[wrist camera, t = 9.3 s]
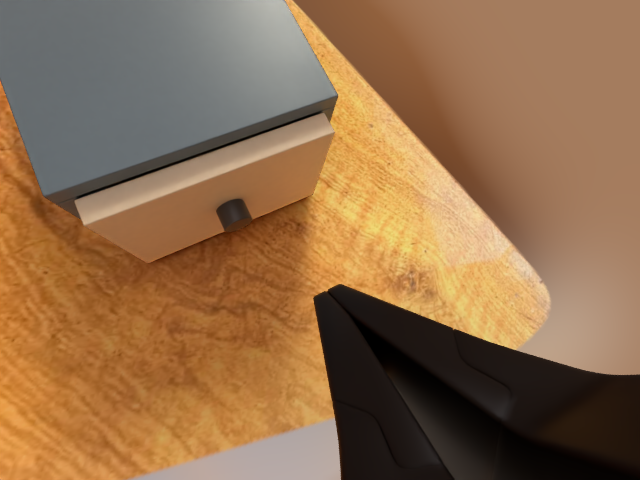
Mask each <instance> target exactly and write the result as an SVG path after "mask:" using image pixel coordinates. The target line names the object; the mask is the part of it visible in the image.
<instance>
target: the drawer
mask: <svg viewBox="0 0 640 480" xmlns="http://www.w3.org/2000/svg"><path fill="white" fill-rule="evenodd" d="M334 133H335V132H334V130H333V128H332V126H331V124H330V122H329V120H328V119H327V117H326V115H325V113H320V114H317V115H315V116H312V117H309V118H306V119H303V120H300V121H298V122H295V120H293V121H290V122H287V123H284V124H282V125H279V126H276V127H273V128H270V129H267V130H264V131H262V132H259V133H256V134H253V135H250V136H247V137H244V138H242V139H239V140H236V141H233V142H230V143H227V144H225V145H222V146H219V147H216V148H213V149H210V150H207V151H205V152H202V153H199V154H196V155H193V156H190V157H188V158H185V159H182V160H179V161H176V162H173V163H170V164H168V165H165V166H162V167H159V168H156V169H153V170H150V171H148V172H145V173H142V174H139V175H136V176H133V177H131V178H128V179H125V180H122V181H119V182H116V183H113V184H111V185H108V186H105V188H106V189H105V190H102V191H99V192H96V193H94V194H91V195H88V196H85V197H82V198H79V199H77V200H75V201H74V202H75V205H76V207H77V210H78V213H79V215H80V218H81V220H82V223H83V225H84V226H85V227H87V228H89V229H90V230H92V231H94V232H95V233H97V234H99V235H100V236H102V237H104V238H105V239H107V240H109V241H111V242H112V243H114V244H116V245H117V246H119V247H121V248H122V249H124V250H126V251H127V252H129V253H131V254H133V255H134V256H136V257H138V258H139V259H141V260H143V261H144V262H146V263H150V262H152V261H155V260H157V259H159V258H162V257H164V256H167V255H169V254H171V253H174V252H176V251H179V250H181V249H183V248H186V247H188V246H191V245H193V244H195V243H198V242H200V241H202V240H205V239H207V238H210V237H212V236H214V235H217V234H219V233H222V232H224V231H226V232H233V231H237V230H239V229H242V228H244V227H246V226H247V225H248V224H250V223H251V222H252V220H253V219H255V218H258V217H260V216H262V215H265V214H267V213H270V212H272V211H274V210H277V209H279V208H282V207H284V206H286V205H289V204H291V203H294V202H296V201H298V200H301V199H303V198H306V197H308V196H310V195H313V193H314V190H315V187H316V184H317V181H318V178H319V176H320V173H321V170H322V167H323V164H324V161H325V159H326V156H327V153H328V150H329V147H330V144H331V142H332V139H333V136H334Z"/></svg>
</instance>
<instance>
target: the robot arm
mask: <svg viewBox="0 0 640 480" xmlns="http://www.w3.org/2000/svg"><path fill="white" fill-rule="evenodd" d="M313 299H314V305H315V311H316V316H317V321H318V327H319V332H320V338H321V343H322V349H323V354H324V360H325V365H326V370H327V376H328V381H329V387H330V392H331V398H332V402H333V409H334V415H335V421H336V427H337V434H338V441H339V454H340V468H341V480H640V375H609V374H601V373H595V372H590V371H585V370H581V369H577V368H574V367H570V366H567V365H564V364H560V363H557V362H553V361H550V360H546V359H543V358H540V357H536V356H533V355H529V354H526V353H523V352H519V351H516V350H513V349H510V348H507V347H504V346H500V345H497V344H494V343H491V342H488V341H486V340H483V339H480V338H477V337H475V336H472V335H469V334H467V333H464V332H462V331H459V330H457V329H454V330H453V328H451V327H449V326H446V325H444V324H441V323H438V322H436V321H433V320H431V319H428V318H426V317H423V316H421V315H418V314H416V313H413V312H411V311H408V310H405V309H403V308H400V307H398V306H395V305H393V304H390V303H388V302H385V301H383V300H380V299H378V298H375V297H373V296H370V295H367V294H365V293H362V292H360V291H357V290H355V289H352V288H350V287H347V286H345V285H342V284H338V285H336V286H334V287H332V288H330V289H329V290H328V291H327V292H326V291H324V292H322V293H320V294H318V295H316V296H315V297H314V298H313Z"/></svg>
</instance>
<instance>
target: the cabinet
mask: <svg viewBox="0 0 640 480" xmlns="http://www.w3.org/2000/svg"><path fill="white" fill-rule="evenodd" d="M0 81H1V83H2V86H3V89H4V91H5V94H6V97H7V99H8V102H9V105H10V108H11V110H12V113H13V116H14V118H15V121H16V124H17V126H18V129H19V132H20V135H21V137H22V140H23V143H24V145H25V148H26V151H27V154H28V156H29V159H30V162H31V164H32V167H33V170H34V172H35V175H36V178H37V181H38V183H39V186H40V189H41V191H42V194H43V196H44V197H45V198H47V199H48V200H50V201H51V202H53V203H55V204H56V205H58V206H60V207H61V208H63V209H64V210H66V211H68V212H69V213H71V214H73V215H74V216H76V217H77V218H79V219H81V218H80V215H79V213H78V210H77V207H76V205H75V202H74V201H75V200H77V199H79V198H82V197H85V196H88V195H91V194H94V193H96V192H99V191H102V190H105V189H106V188H105V186H108V185H111V184H113V183H116V182H119V181H122V180H125V179H128V178H131V177H133V176H136V175H139V174H142V173H145V172H148V171H150V170H153V169H156V168H159V167H162V166H165V165H168V164H170V163H173V162H176V161H179V160H182V159H185V158H188V157H190V156H193V155H196V154H199V153H202V152H205V151H207V150H210V149H213V148H216V147H219V146H222V145H225V144H227V143H230V142H233V141H236V140H239V139H242V138H244V137H247V136H250V135H253V134H256V133H259V132H262V131H264V130H267V129H270V128H273V127H276V126H279V125H282V124H284V123H287V122H290V121H293V120H295V122H298V121H300V120H303V119H306V118H309V117H312V116H315V115H317V114H320V113H325V115H326V117H327V119H328V120H329V122H330V120H331V117H332V114H333V111H334V107H335V104H336V101H337V98H338V94H337V92H336V91H335V89H334V87H333V85H332V83H331V82H330V80H329V78H328V76H327V75H326V73H325V71H324V69H323V68H322V66H321V64H320V62H319V60H318V59H317V57H316V55H315V53H314V52H313V50H312V48H311V46H310V44H309V43H308V41H307V39H306V37H305V36H304V34H303V32H302V30H301V28H300V27H299V25H298V23H297V21H296V20H295V18H294V16H293V14H292V13H291V11H290V9H289V7H288V5H287V4H286V2H285V0H0Z"/></svg>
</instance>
